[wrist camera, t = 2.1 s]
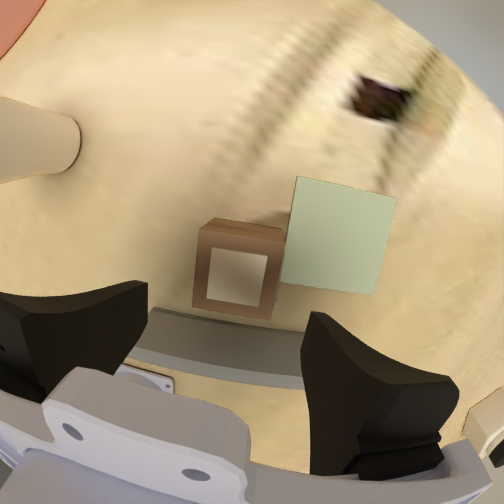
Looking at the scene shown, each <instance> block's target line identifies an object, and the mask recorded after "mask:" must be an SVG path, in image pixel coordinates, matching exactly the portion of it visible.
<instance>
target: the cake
mask: <svg viewBox="0 0 504 504" xmlns="http://www.w3.org/2000/svg"><path fill="white" fill-rule="evenodd" d="M44 2H45V0H0V58H1V57H2V56H3V55H4V54H5V53H6V52H7V51H8V49H9V48H10V47H11V46H12V45H13V44H14V43H15V41H16V40H17V39H18V38H19V36H20V35H21V34H22V33H23V31H24V30H25V29H26V27H27V26H28V25H29V23H30V22H31V21H32V19H33V18H34V17H35V15H36V14H37V12H38V11H39V9H40V8H41V6H42V5H43V3H44Z"/></svg>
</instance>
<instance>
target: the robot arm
mask: <svg viewBox="0 0 504 504" xmlns="http://www.w3.org/2000/svg"><path fill="white" fill-rule="evenodd" d="M147 323H148V283H146V282H142V281H137V280H133V281H127V282H123V283H119V284H116V285H112V286H108V287H105V288H101V289H97V290H93V291H88V292H84V293H79V294H73V295H65V296H49V297H33V296H21V295H14V294H8V293H2V292H0V458H1V459H2V460H3V461H4V462H5V463H6V464H7V465H9V466H10V467H11V468H12V469H13V472H12V473H11V475H10V476H9V478H8V479H7V481H6V482H5V484H4V485H3V487H2V489H1V490H0V504H469V503H470V502H471V501H473V500H474V499H475V498H477V497H478V496H479V495H480V494H481V493H483V492H484V491H485V490H486V489H487V488H489V486H491V485H492V483H493V482H492V480H491V478H490V476H489V474H488V472H487V470H486V468H485V466H484V465H483V463H482V461H481V459H480V457H479V456H478V454H477V452H476V450H475V449H474V447H473V445H472V443H471V442H470V440H469V439H463V440H460V441H457V442H454V443H451V444H448V445H446V446H444V447H443V448H441V449H440V447H439V445H438V443H437V442H440V440H441V435H440V434H439V432H438V431H439V430H440V429H441V427H442V426H443V425H444V423H445V422H446V421H447V419H448V418H449V417H450V415H451V414H452V412H453V411H454V409H455V407H456V405H457V402H458V399H459V389H458V387H457V386H456V385H455V383H454V382H453V381H452V379H451V378H450V377H449V376H446V375H441V374H436V373H431V372H427V371H423V370H420V369H417V368H413V367H410V366H408V365H405V364H402V363H400V362H398V361H395V360H393V359H391V358H389V357H387V356H385V355H383V354H381V353H379V352H378V351H376V350H374V349H372V348H371V347H369V346H368V345H366V344H365V343H363V342H362V341H360V340H359V339H358V338H356V337H355V336H354V335H352V334H351V333H350V332H349V331H347V330H346V329H345V328H344V327H342V326H341V325H340V324H339V323H338V322H336V321H335V320H334V319H333V318H331V317H330V316H329V315H327V314H326V313H322V312H314V311H311V313H310V317H309V321H308V324H307V328H306V331H305V335H304V338H303V342H302V345H301V349H300V362H301V372H302V377H303V382H304V387H305V392H306V398H307V403H308V409H309V418H310V474H305V473H299V472H294V471H289V470H285V469H280V468H276V467H272V466H268V465H264V464H260V463H256V462H253V461H250V450H251V436H250V431H249V426H248V425H247V424H246V423H245V422H244V421H243V420H241V419H240V418H239V417H238V416H237V415H235V414H234V413H233V412H232V411H231V410H229V409H226V408H223V407H220V406H217V405H214V404H212V403H209V402H206V401H203V400H198V399H194V398H189V397H185V396H180V395H176V394H174V382H173V380H172V379H171V378H169V377H166V376H162V375H158V374H155V373H151V372H147V371H144V370H140V369H137V368H134V367H130V366H127V365H124V364H122V362H123V361H124V360H125V358H126V357H127V356H128V354H129V353H130V351H131V350H132V349H133V347H134V346H135V345H136V343H137V342H138V340H139V339H140V337H141V335H142V333H143V331H144V329H145V327H146V325H147ZM167 384H168V385H167ZM169 385H170V386H169Z"/></svg>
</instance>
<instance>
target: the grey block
mask: <svg viewBox="0 0 504 504" xmlns="http://www.w3.org/2000/svg"><path fill="white" fill-rule="evenodd" d="M304 335H305V333H300V332H292V331H284V330H277V329H270V328H263V327H256V326H250V325H243V324H237V323H231V322H226V321H220V320H214V319H209V318H204V317H199V316H193V315H188V314H184V313H179V312H174V311H169V310H165V309H160V308H156V307H153V309H152V310H151V311H150V312H149V313H148V323H147V325H146V327H145V329H144V331H143V333H142V335H141V337H140V339H139V340H138V342H137V343H136V345H135V346H134V347H133V349H132V350H131V351H130V353H129V354H128V356H127V357H129V358H132V359H136V360H139V361H143V362H146V363H150V364H154V365H157V366H161V367H165V368H169V369H173V370H178V371H182V372H186V373H191V374H196V375H200V376H205V377H210V378H216V379H221V380H227V381H233V382H239V383H246V384H253V385H261V386H269V387H278V388H288V389H299V390H305V387H304V382H303V377H302V372H301V362H300V349H301V345H302V342H303V338H304Z"/></svg>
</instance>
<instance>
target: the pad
mask: <svg viewBox="0 0 504 504" xmlns="http://www.w3.org/2000/svg"><path fill="white" fill-rule="evenodd" d="M395 204H396V199H395V198H391V197H387V196H384V195H380V194H376V193H372V192H368V191H364V190H360V189H355V188H351V187H347V186H342V185H338V184H333V183H329V182H324V181H319V180H314V179H309V178H304V177H299V176H297V179H296V185H295V191H294V197H293V203H292V209H291V214H290V220H289V226H288V231H287V237H286V242H285V243H286V244H285V250H284V252H285V258H284V264H283V269H282V274H281V279H280V282H283V283H289V284H296V285H303V286H309V287H316V288H323V289H330V290H337V291H345V292H352V293H359V294H367V295H373V293H374V290H375V287H376V283H377V280H378V276H379V273H380V269H381V265H382V262H383V258H384V254H385V250H386V246H387V242H388V238H389V233H390V229H391V224H392V219H393V215H394V210H395Z"/></svg>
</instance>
